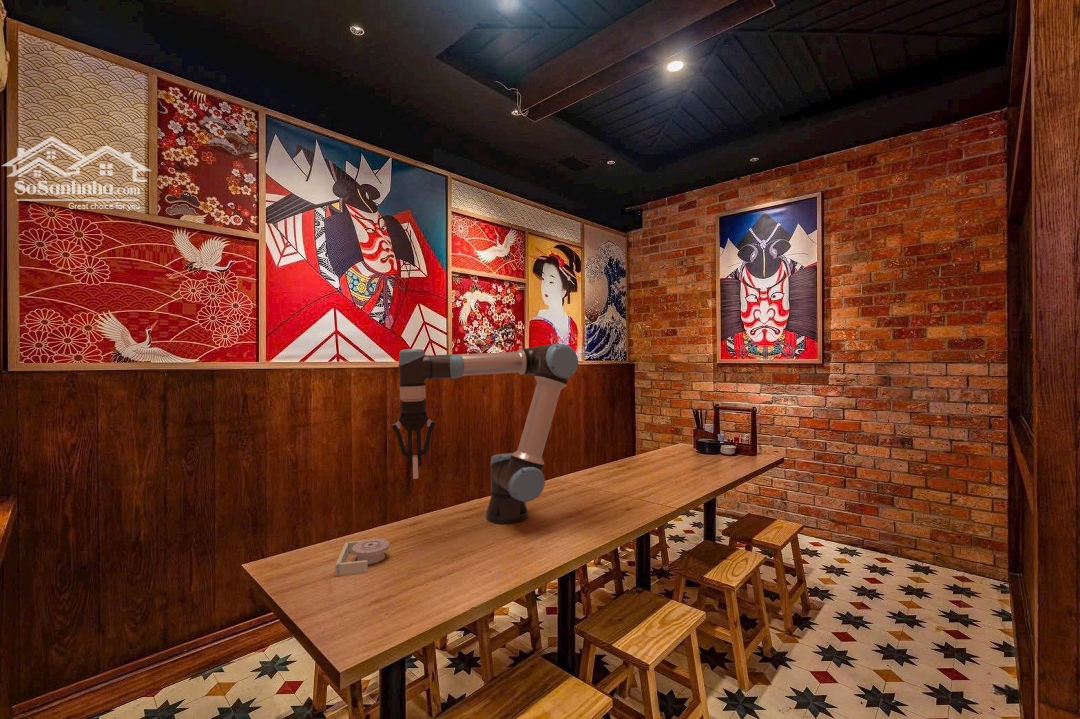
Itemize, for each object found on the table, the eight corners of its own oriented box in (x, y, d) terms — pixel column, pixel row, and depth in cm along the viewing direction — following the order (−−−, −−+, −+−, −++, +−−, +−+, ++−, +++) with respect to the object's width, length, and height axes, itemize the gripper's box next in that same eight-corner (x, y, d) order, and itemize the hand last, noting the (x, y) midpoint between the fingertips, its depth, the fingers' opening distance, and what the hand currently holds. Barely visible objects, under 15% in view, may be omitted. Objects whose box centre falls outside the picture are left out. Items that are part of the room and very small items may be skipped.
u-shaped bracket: (373, 549, 139) (373, 539, 139) (367, 572, 124) (367, 561, 124) (345, 552, 137) (345, 542, 137) (335, 576, 122) (335, 565, 122)
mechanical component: (360, 538, 137) (393, 537, 137) (360, 552, 137) (393, 552, 137) (346, 551, 127) (382, 551, 127) (346, 567, 127) (382, 567, 127)
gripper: (434, 397, 144) (436, 472, 144) (390, 400, 141) (393, 476, 141) (435, 399, 137) (438, 478, 137) (390, 402, 134) (392, 483, 134)
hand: (415, 477), depth 139 cm, fingers closed
